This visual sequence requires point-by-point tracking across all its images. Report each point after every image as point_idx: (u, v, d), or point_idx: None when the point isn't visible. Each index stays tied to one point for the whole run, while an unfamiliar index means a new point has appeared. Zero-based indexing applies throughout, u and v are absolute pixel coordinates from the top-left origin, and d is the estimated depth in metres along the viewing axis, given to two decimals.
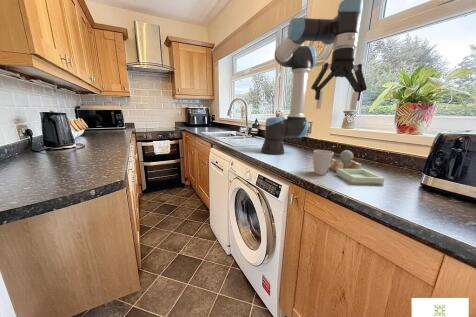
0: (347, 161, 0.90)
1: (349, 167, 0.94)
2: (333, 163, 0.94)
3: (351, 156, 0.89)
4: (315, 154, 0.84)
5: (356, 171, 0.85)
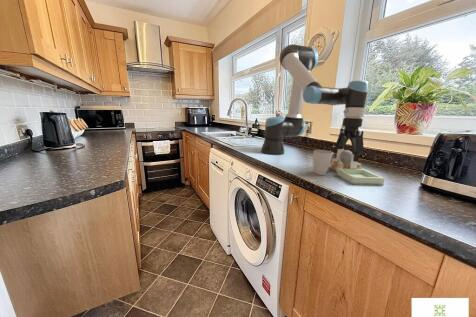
0: (347, 161, 0.90)
1: (349, 167, 0.94)
2: (333, 163, 0.94)
3: (351, 156, 0.89)
4: (315, 154, 0.84)
5: (356, 171, 0.85)
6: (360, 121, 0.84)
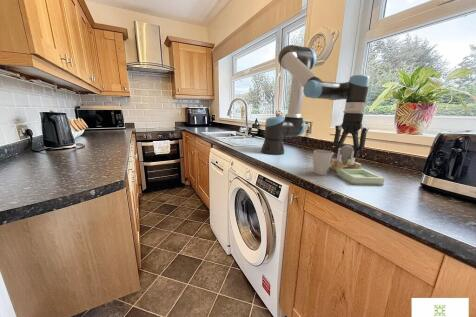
0: (350, 156, 0.90)
1: (349, 167, 0.94)
2: (333, 163, 0.94)
3: None
4: (315, 154, 0.84)
5: (356, 171, 0.85)
6: (362, 116, 0.85)
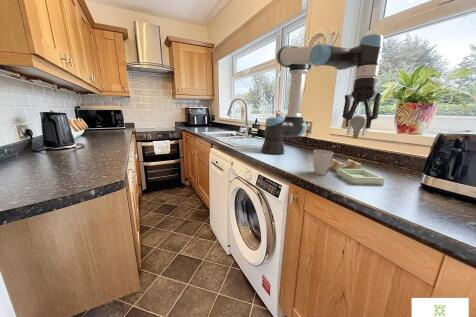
0: (361, 127, 0.82)
1: (349, 167, 0.94)
2: (333, 163, 0.94)
3: None
4: (315, 154, 0.84)
5: (356, 171, 0.85)
6: (375, 81, 0.78)
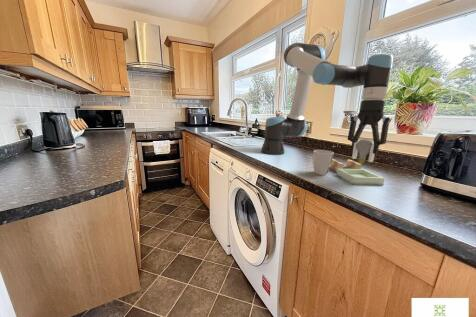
0: (368, 152, 0.76)
1: (349, 167, 0.94)
2: (333, 163, 0.94)
3: None
4: (315, 154, 0.84)
5: (356, 171, 0.85)
6: None
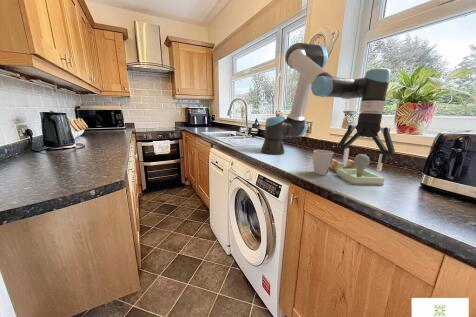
0: (365, 167, 0.77)
1: (349, 167, 0.94)
2: (333, 163, 0.94)
3: (369, 160, 0.77)
4: (315, 154, 0.84)
5: (356, 171, 0.85)
6: (381, 117, 0.73)
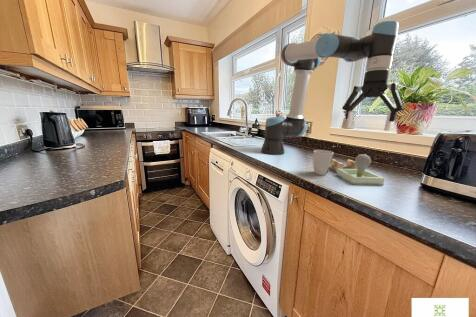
0: (366, 167, 0.77)
1: (349, 167, 0.94)
2: (333, 163, 0.94)
3: (370, 161, 0.77)
4: (315, 154, 0.84)
5: (356, 171, 0.85)
6: (388, 74, 0.70)
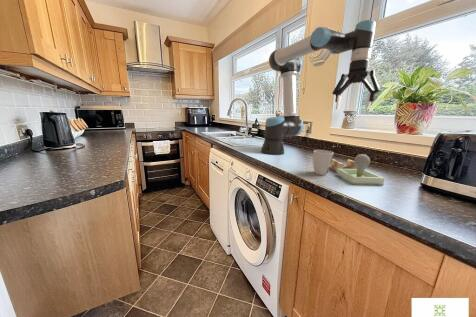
0: (365, 167, 0.77)
1: (349, 167, 0.94)
2: (333, 163, 0.94)
3: (369, 161, 0.77)
4: (315, 154, 0.84)
5: (356, 171, 0.85)
6: (368, 63, 0.87)
